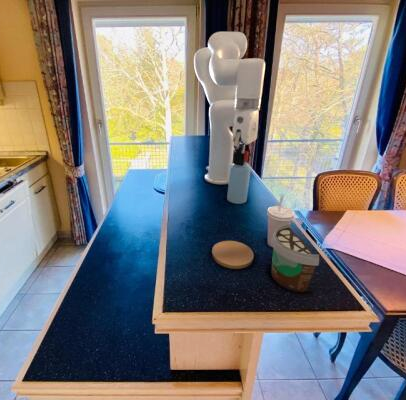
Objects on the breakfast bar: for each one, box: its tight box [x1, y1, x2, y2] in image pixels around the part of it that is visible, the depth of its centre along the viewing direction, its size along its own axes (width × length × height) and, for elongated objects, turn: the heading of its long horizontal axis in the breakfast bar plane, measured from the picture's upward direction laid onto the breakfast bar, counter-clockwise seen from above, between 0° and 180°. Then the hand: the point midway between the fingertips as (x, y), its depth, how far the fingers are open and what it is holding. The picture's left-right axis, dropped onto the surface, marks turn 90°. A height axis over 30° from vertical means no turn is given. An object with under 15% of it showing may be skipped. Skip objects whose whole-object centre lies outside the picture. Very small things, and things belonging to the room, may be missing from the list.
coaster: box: [211, 240, 255, 270], centre depth 65 cm, size 10×10×1 cm
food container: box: [270, 224, 320, 293], centre depth 56 cm, size 12×6×10 cm, turn 4°
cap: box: [244, 150, 248, 163], centre depth 87 cm, size 4×4×3 cm
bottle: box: [226, 162, 252, 205], centre depth 90 cm, size 7×7×17 cm
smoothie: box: [266, 194, 295, 248], centre depth 66 cm, size 6×6×14 cm
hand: (241, 162), depth 88 cm, fingers closed on cap, 3 cm apart
